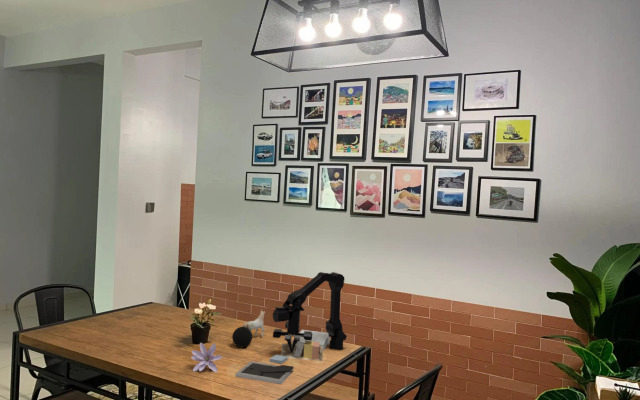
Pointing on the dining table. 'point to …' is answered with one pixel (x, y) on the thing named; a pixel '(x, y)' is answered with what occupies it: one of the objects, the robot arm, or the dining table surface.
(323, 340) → the skincare box
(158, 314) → the dining table surface
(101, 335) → the dining table surface
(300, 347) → the bookend
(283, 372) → the picture frame
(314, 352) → the salmon pink box
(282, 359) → the blue book lying
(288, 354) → the shelf tray
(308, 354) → the olive yellow block
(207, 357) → the water lily
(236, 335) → the decorative ball
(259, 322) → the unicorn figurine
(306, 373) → the dining table surface
